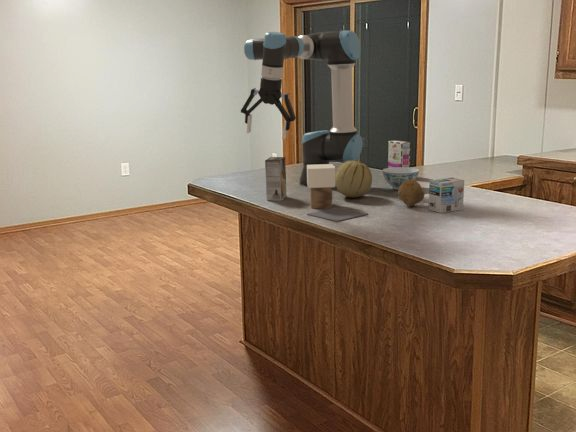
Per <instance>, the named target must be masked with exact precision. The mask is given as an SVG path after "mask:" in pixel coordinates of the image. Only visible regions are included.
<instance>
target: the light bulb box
mask: <svg viewBox="0 0 576 432" xmlns="http://www.w3.org/2000/svg"><path fill="white" fill-rule="evenodd" d="M428 189H429V191H428V192H429V193H428V210H429V211H431V212H432V211H433V212H437V213H440V214H443V213H449V212H455V211H456V212H457V211H462V210H463V209H464V197H465V190H464V189H465V180H464V179H462V178H461V179H460V178H457V177H445V178H437V179H430V180H429V187H428Z"/></svg>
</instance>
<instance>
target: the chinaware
mask: <svg viewBox="0 0 576 432" xmlns="http://www.w3.org/2000/svg"><path fill="white" fill-rule="evenodd" d="M419 173H420V169H418V168H415V167H410V168H407V167H394V168H388V167H386V168H383V169H382V175H383V177H384V180H385V181H386V183H387V184H388V185H390V186H391V188H392V189H393V190H399V187H400V185H401V184H402V183H403V182H404V181H405V180H408V179H413V180H415V181H416V180H417V179H418V176H419Z"/></svg>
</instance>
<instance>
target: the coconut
mask: <svg viewBox="0 0 576 432" xmlns="http://www.w3.org/2000/svg"><path fill="white" fill-rule="evenodd" d="M397 195H398V197H399V200H401V201H402V202H403V203H404V204H405V205H406V206H408V207H413V206H414V207H415V205H417V204H418V203H421V202H422V201H423V200H424V199H425V193H424V190H423V187H422V186H421V184H420V182H417V181H416V180H413V179H408V180H405V181H404V182H403V183H402V184H401V185H400V187H399V190H398V191H397Z"/></svg>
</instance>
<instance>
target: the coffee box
mask: <svg viewBox="0 0 576 432" xmlns="http://www.w3.org/2000/svg"><path fill="white" fill-rule="evenodd" d="M264 164H265V166H264V167H265V168H264V169H265V190H266V191H265V192H266V193H265V194H266V201H279V202H282V201H283V200H284V199H285V198H286V197H287V173H286V172H287V167H286V157H285V156H270V157H269V158H266V159H265V160H264Z"/></svg>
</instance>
